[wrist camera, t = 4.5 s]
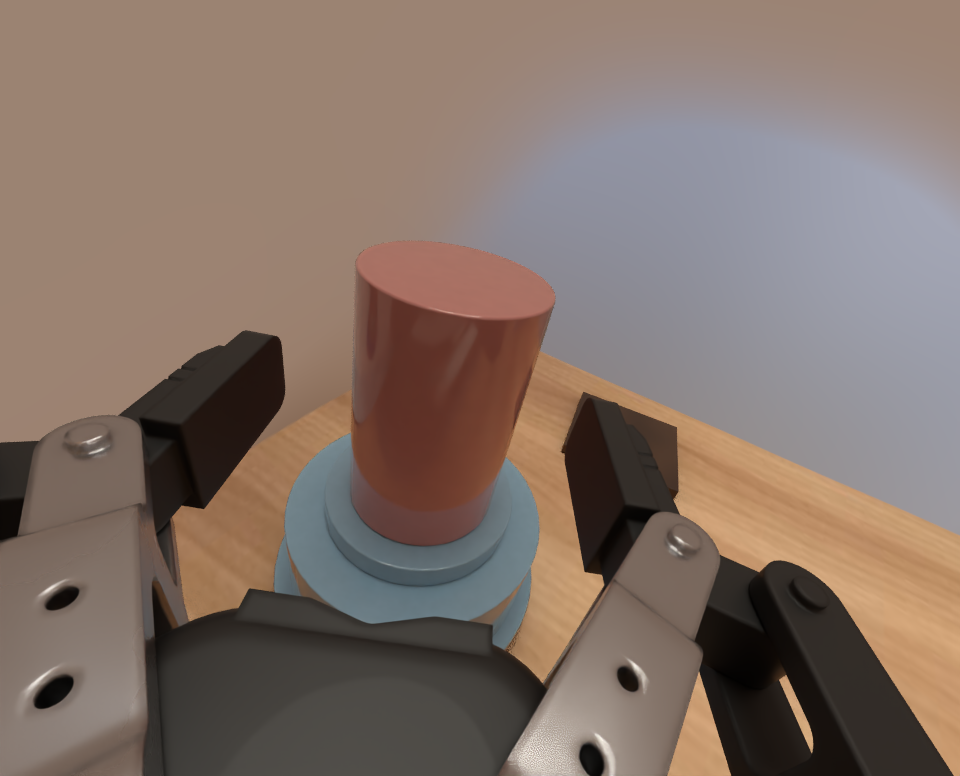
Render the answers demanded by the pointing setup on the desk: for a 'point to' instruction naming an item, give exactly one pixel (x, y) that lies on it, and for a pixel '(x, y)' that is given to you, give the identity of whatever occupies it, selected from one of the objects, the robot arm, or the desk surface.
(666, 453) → the coaster
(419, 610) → the blue stepped cylinder
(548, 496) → the desk surface
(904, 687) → the desk surface
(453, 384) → the terracotta cylinder
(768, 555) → the desk surface
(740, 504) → the desk surface
